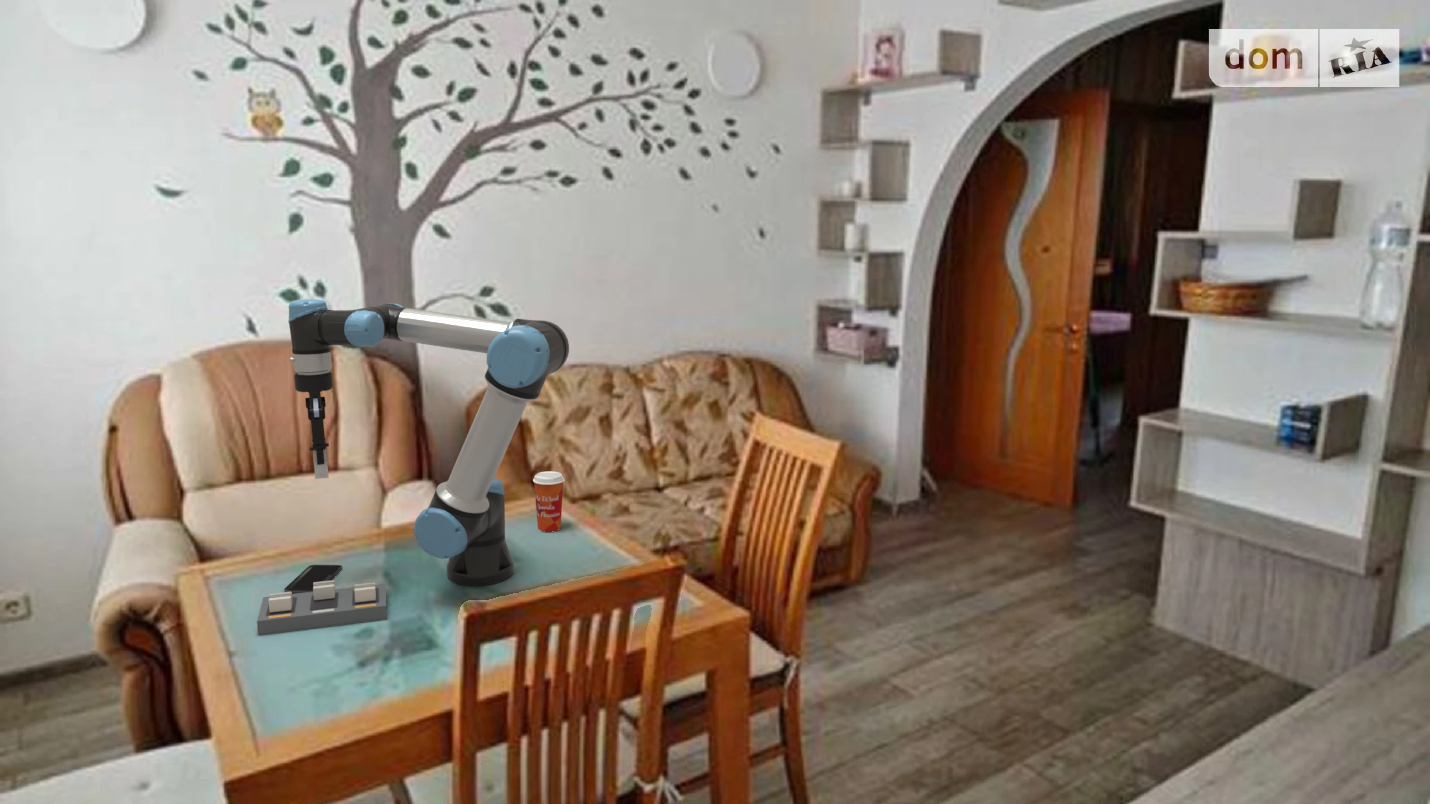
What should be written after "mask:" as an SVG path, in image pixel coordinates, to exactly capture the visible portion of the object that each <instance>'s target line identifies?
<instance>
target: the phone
mask: <svg viewBox="0 0 1430 804" xmlns="http://www.w3.org/2000/svg"><path fill="white" fill-rule="evenodd" d="M341 570H342V571H343V566H342V565H341V564H311V565H309V566H307V567H306V568H305V569H304V570H303V571H301V573H299V574H298V575H297V577H295V578H294V579H293V580H292V581H291V582H290V583H289V584H288V585H286V586H285V588H283V589H284V590H283V592H292V594H296V593H305V592H313V582H321V581H331V580H334V579H335V578H336V577H337V576H338V575H339V574H340V573H341V572H342V571H341ZM340 571H341V572H340ZM339 572H340V573H339ZM335 576H336V577H335Z"/></svg>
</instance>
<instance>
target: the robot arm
mask: <svg viewBox="0 0 1430 804" xmlns="http://www.w3.org/2000/svg"><path fill="white" fill-rule="evenodd" d="M287 322H288V324H289V325H288V326H289V332H290V341H291V353H292V357H290V358H289V362H290V363H293V364H292V365H293V371H294V372H296V373H295V374H294V375H293V378H294V387H295V391H297V392H299V393H308V395H309V396H308V397H305V398H304V399H305V408H306V410H307V418H308V419H307V420H309V421H310V424H311V426H310V427H311V436H312V439H311V441H312V445H311V446H310V447H309V451H310V452H312V456H313V457H312V458H313V467H314V479H316V480H318V479H326V478H327V479H328V478H330V477H329V467H328V455H327V447H330V445H329V444H330V443H329V442H327V443H326V437H325V425H324V423H325V422H324V420H325V419H326V406H327V404H326V403H327V402H326V396H321V392H327V391H330V390H332V389H333V387H334V384H333V383H334V380H333V373H332V372H331V371H330V370H332V369H333V366H332V353H331V346H344V347H345V346H347V347H357V348H365V347H375V346H377V345H379V344H380V342H381V341H382V340H392V341H398V342H407V343H413V344H420V345H428V346H435V347H440V348H449V349H454V350H461V351H468V352H475V353H481V354H486V365H487V366H488V367H487V369H486V372H485V374H484V379H485V382H486V384H487V385H488V387H487V389H486V392H485V393H484V395H483V398H482V400H481V403H480V405H479V408H478V410H477V412H476V415H475V417H474V418H473V419H474V420H473V421H472V424H471V426H470V428H469V430H468V433H467V435H466V438H465V440H464V442H463V444H462V447H461V448H460V449H461V450H460V452H459V454H458V456H457V459H456V461H455V464H454V465H453V468H452V471H451V473H450V475H449V478H448V479H447V480H446V481H444V482H441V483H440V484H438V486H437V487H436V489H435V491H434V494H433V497H432V499H431V500H430V503H429V505H428V507H427V508H425V509H423V510H422V511H421V512H420V513H419V515H418V516H416V518H415V520H414V523H413V524H414V525H413V534H414V537H415V539H416V541H417V544H418V545H419V547H420V548H421V549H422V550H423V551H424V552H426V553H427V554H428V555H430V556H431V557H434V558H437V559H442V560H443V559H448V561H447V564H446V577H447V579H448V580H449V581H450V582H452V583H454V584H457V585H461V586H469V587H470V586H471V587H472V586H473V587H477V586H479V587H480V586H488V585H494V584H496V583H500V582H502V581H505V580H508V579H509V578H510V577H512V576H513V574H514V570H515V569H514V560H513V557H512V555H511V552H510V549H509V547H508V545H507V541H506V523H505V522H506V520H505V519H506V518H505V516H506V515H505V514H506V510H505V509H506V507H505V506H506V504H505V503H506V501H505V496H506V493H505V488H504V487H505V486H504V483H503V481H502V480H501V479H498V478H496V477H495V476H496V475H497V472H498V470H499V467H500V465H501V464H502V461H503V459H504V457H505V454H506V452H507V450H508V447H509V446H510V443H511V441H512V439H513V436H514V433H515V432H516V429H517V427H518V425H519V423H520V420H521V419H522V415H523V413H524V411H525V409H526V407H527V404H528V403H530V402H532V401H536V400H537V399H538V398H539V395H540V394H541V392H542V390H543V387H544V385H545V383H546V381H547V378H548V376H549V375H552V374H554V373H556V372H557V371H559V369H561V368H562V367H563V365H565V363H566V362H567V360H568V357H569V353H570V344H569V343H570V342H569V340H568V336H567V335H566V333H565V332H564V330H563V328H561V327H560V326H559V325H557V324H555V322H551V321H548V320H535V319H524V318H515V319H513V320H512V321H506V320H505V321H503V320H497V319H491V318H490V319H489V318H483V317H476V316H475V317H474V316H468V315H460V314H453V313H448V312H447V313H445V312H439V311H430V310H423V309H416V308H409V307H404V306H403V305H401V304H398V303H383V304H379V305H374V306H369V307H363V308H356V309H350V310H349V309H347V310H346V309H343V310H342V309H341V310H340V309H339V310H336V309H334V310H332V309H328V305H327V302H326V301H325V300H324V299H317V298H316V299H314V298H312V299H307V298H306V299H297V300H292V301H291V302H290V303H289V304H288V321H287Z"/></svg>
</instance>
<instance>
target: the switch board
mask: <svg viewBox="0 0 1430 804" xmlns="http://www.w3.org/2000/svg"><path fill="white" fill-rule="evenodd" d="M375 591H376V600H373V601H364V602H356V603H355V588H354V586H352V587H351V586H350V587H344V588H343V587H341V588H335V598H330V599H321V600H314V594H313V592H305V593H296V594H292V603H293V604H292V610H287V611H279V612H269V596H263V597H262V601H261V605H260V608H259V611H258V615H257V620H256V625H257V635H258V636H264V635H271V634H280V633H287V632H288V633H289V632H294V631H303V630H311V629H312V630H313V629H320V628H328V627H337V626H344V625H352V624H362V623H367V622H374V621H375V622H376V621H377V622H378V621H384V620H385V621H386V620H388V611H387V610H388V607H387V595H386V594H387V593H386V592H387V590H386V583H379V584H378V583H377V584H375Z"/></svg>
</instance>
